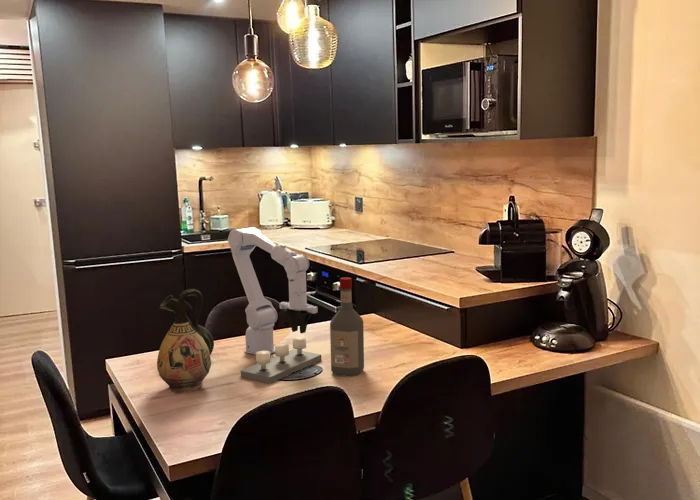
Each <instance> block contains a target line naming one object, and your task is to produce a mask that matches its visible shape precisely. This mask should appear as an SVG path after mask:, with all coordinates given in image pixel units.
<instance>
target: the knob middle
mask: <svg viewBox="0 0 700 500" xmlns="http://www.w3.org/2000/svg"><path fill="white" fill-rule="evenodd" d="M289 347H290V346H289V344H288V343H277V344H275V345H274V348H275V352H274V355H275V356H279V357H280V361H285V356H288V355H289V351H290V348H289Z"/></svg>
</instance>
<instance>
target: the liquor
mask: <svg viewBox="0 0 700 500" xmlns="http://www.w3.org/2000/svg"><path fill="white" fill-rule="evenodd" d="M352 281H353V280H352V277H348V276H346V277H344V276H343V277H340V278H339V288H340V307H339V310H338V311H337V312H336V313H335V315H334V316H333V317H332V318H331V319H330V323H329V333H330V334H329V338H330V370H331V372H332V374H334V375H335V376H339V377H347V378H352V377H357V376H359V375H360V374H361V373H362V372H363V371H364V369H365V341H364V340H365V337H364V334H365V333H364V321H363V318H362V316H361V315H360V314H359V313H358V312H357V311H356V310H355V309H354V306H353V301H352V299H353V298H352V296H353V295H352V288H353V285H352V284H353V282H352Z"/></svg>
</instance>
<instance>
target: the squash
mask: <svg viewBox="0 0 700 500" xmlns="http://www.w3.org/2000/svg"><path fill="white" fill-rule="evenodd" d="M198 326H199V329H200V332H201V336H202V337H203V339H204V341H205V343H206V344H207V346H208V349H209V353H210V356H211V355H212V353H213V350H214V348H215V339H214V336H213V335H212V334H211V332H210V330H208V329H207V328H206V327H204V326H202V325H201V324H199V323H198Z"/></svg>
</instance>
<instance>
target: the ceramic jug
mask: <svg viewBox="0 0 700 500" xmlns="http://www.w3.org/2000/svg"><path fill="white" fill-rule="evenodd" d="M188 297H194V298H195V299H197V302H196V307H195V311H194V314H193V317H192V319H190V318H189V316H188V315H187V314H188V313H189V312H192V310H193V306H192V305H191V304H190V303H189V302H187V301H186V298H188ZM203 305H204V297H203V294H202V292H201V291H200V290H198V289H196V288H188V289H185V290H184V291H182V292H181V294H179V297H178V298H176V297H174V295H172V294H169V295H168V296H166V298H164V300H163V301H162V302H161V303H160V306H159V309H161V310H164V311H169V312H171V313H174V315H175V318H174V321H173V324H172V325H171V326H170V328H169V330H168V331H167V333H166V335H165V336H164V338H163V340H162V342H161V344H160V347H159V349H158V350H159V351H158V355H157V360H156V361H157V362H156V365H157V366H156V368H157V372H158V375H159V377H160V378H161V379H162V380H163V382H164V383H166V384H167V385H168V390H170V391H171V392H173V393H177V394H178V393H180V394H181V393H190V392H194V391H196V390H198V389H199V388H201V387H202V385H203V381H204V380H205V379H206V377H207V375H209V373H210V369H211V366H212V359H211V355H210V353H209V349H208V346H207V344H206V343H205V341H204V339H203V337H202V336H201V332H200V329H199V326H198V324H199V319H200V317H201V312H202V309H203Z"/></svg>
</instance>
